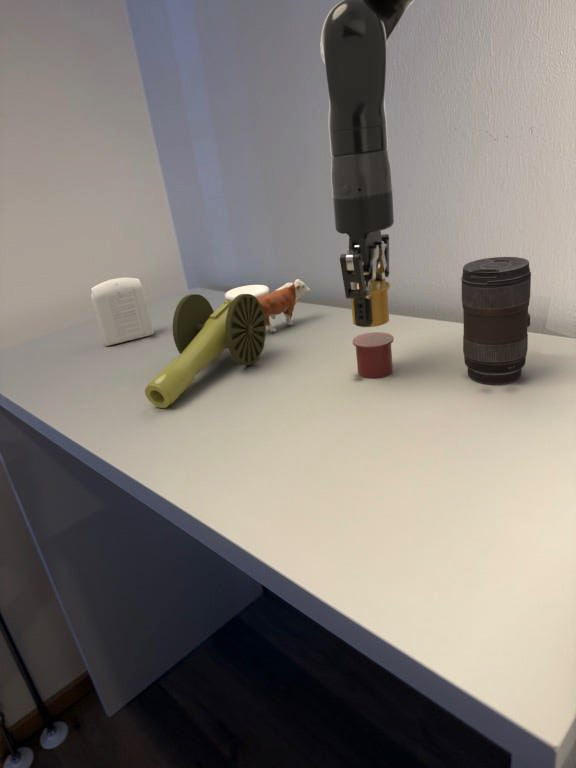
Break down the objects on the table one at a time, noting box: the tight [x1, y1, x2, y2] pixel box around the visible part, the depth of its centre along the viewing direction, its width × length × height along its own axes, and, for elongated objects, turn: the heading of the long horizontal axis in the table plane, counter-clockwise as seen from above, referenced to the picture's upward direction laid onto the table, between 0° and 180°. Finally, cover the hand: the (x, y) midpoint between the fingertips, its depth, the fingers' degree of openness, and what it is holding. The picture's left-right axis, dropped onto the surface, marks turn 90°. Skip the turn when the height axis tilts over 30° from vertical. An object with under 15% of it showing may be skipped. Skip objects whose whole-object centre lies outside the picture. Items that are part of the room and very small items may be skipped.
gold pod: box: [350, 281, 391, 328], centre depth 75 cm, size 6×6×5 cm
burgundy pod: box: [351, 331, 395, 379], centre depth 78 cm, size 6×6×5 cm
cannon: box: [144, 293, 267, 409], centre depth 84 cm, size 25×12×11 cm, turn 154°
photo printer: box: [90, 277, 155, 347], centre depth 107 cm, size 10×4×12 cm, turn 116°
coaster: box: [224, 284, 270, 301], centre depth 121 cm, size 10×10×4 cm
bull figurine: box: [256, 278, 311, 333], centre depth 102 cm, size 4×13×8 cm, turn 124°
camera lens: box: [460, 256, 532, 385], centre depth 69 cm, size 8×8×15 cm
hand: (371, 317), depth 75 cm, fingers closed on gold pod, 5 cm apart
